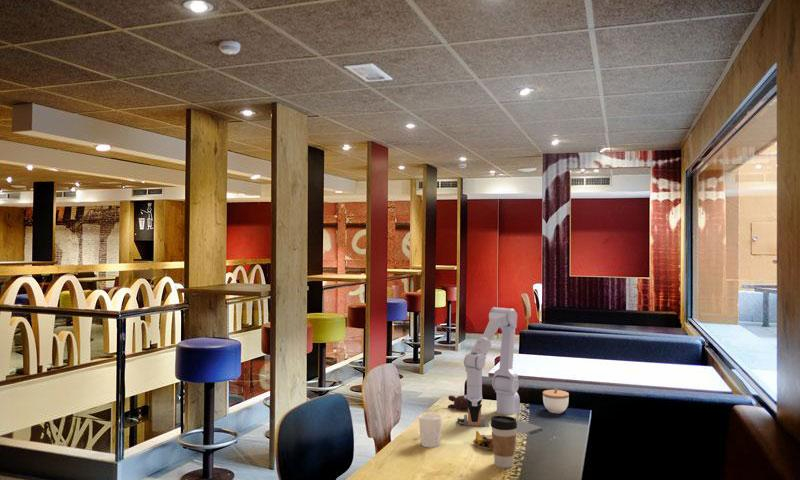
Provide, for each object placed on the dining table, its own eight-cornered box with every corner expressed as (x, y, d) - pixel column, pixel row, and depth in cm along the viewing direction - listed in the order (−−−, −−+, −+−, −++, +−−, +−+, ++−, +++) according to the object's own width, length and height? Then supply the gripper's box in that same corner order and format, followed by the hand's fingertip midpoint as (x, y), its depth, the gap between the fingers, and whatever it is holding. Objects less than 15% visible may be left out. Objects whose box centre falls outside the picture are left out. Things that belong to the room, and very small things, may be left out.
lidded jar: (542, 414, 249) (542, 391, 249) (542, 407, 259) (542, 385, 259) (569, 415, 246) (569, 392, 246) (568, 408, 257) (568, 386, 257)
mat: (519, 423, 236) (519, 420, 236) (542, 430, 228) (542, 427, 228) (500, 428, 230) (500, 426, 230) (523, 436, 221) (523, 433, 221)
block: (468, 424, 231) (467, 409, 231) (468, 421, 235) (468, 406, 235) (481, 425, 231) (481, 409, 231) (480, 422, 235) (480, 406, 235)
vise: (457, 428, 230) (457, 419, 230) (457, 422, 237) (457, 413, 237) (489, 429, 229) (489, 420, 229) (488, 423, 236) (488, 414, 236)
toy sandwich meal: (504, 439, 219) (504, 426, 219) (514, 452, 205) (514, 438, 205) (470, 440, 218) (470, 426, 218) (477, 453, 204) (477, 439, 204)
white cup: (444, 442, 215) (444, 414, 215) (438, 449, 207) (438, 420, 207) (422, 439, 217) (422, 412, 217) (416, 446, 210) (416, 418, 210)
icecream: (483, 396, 252) (453, 394, 261) (474, 395, 247) (443, 393, 256) (482, 413, 251) (452, 410, 260) (473, 413, 245) (442, 410, 254)
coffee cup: (488, 460, 197) (487, 414, 197) (513, 459, 198) (513, 413, 198) (494, 470, 189) (494, 422, 189) (520, 469, 189) (520, 421, 189)
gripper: (464, 380, 241) (464, 414, 241) (463, 389, 226) (463, 425, 226) (482, 380, 240) (482, 414, 240) (482, 389, 225) (482, 425, 225)
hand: (474, 419), depth 233 cm, fingers closed on block, 4 cm apart
